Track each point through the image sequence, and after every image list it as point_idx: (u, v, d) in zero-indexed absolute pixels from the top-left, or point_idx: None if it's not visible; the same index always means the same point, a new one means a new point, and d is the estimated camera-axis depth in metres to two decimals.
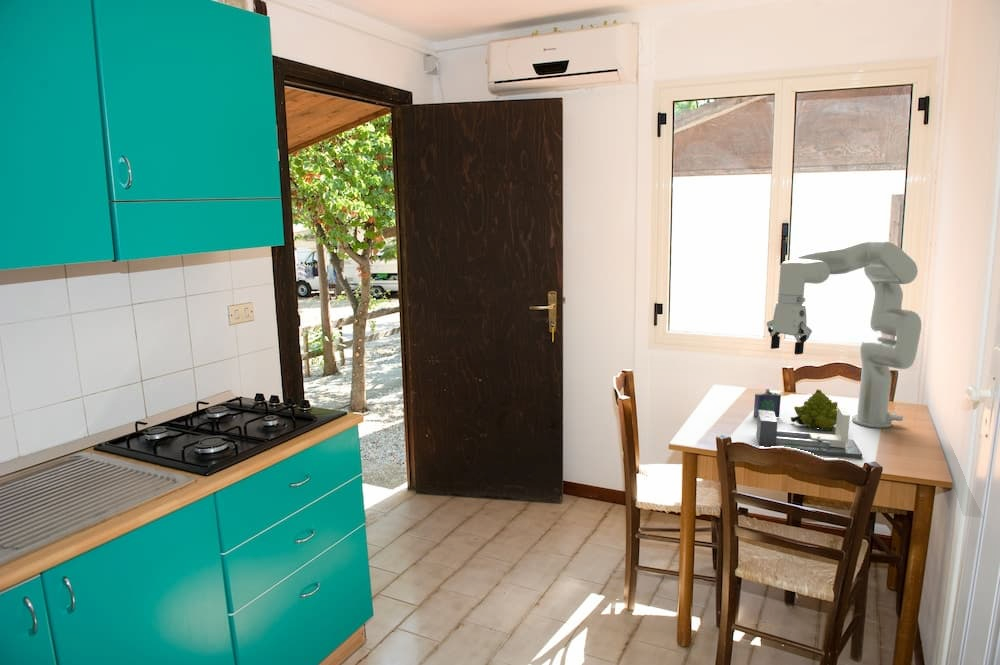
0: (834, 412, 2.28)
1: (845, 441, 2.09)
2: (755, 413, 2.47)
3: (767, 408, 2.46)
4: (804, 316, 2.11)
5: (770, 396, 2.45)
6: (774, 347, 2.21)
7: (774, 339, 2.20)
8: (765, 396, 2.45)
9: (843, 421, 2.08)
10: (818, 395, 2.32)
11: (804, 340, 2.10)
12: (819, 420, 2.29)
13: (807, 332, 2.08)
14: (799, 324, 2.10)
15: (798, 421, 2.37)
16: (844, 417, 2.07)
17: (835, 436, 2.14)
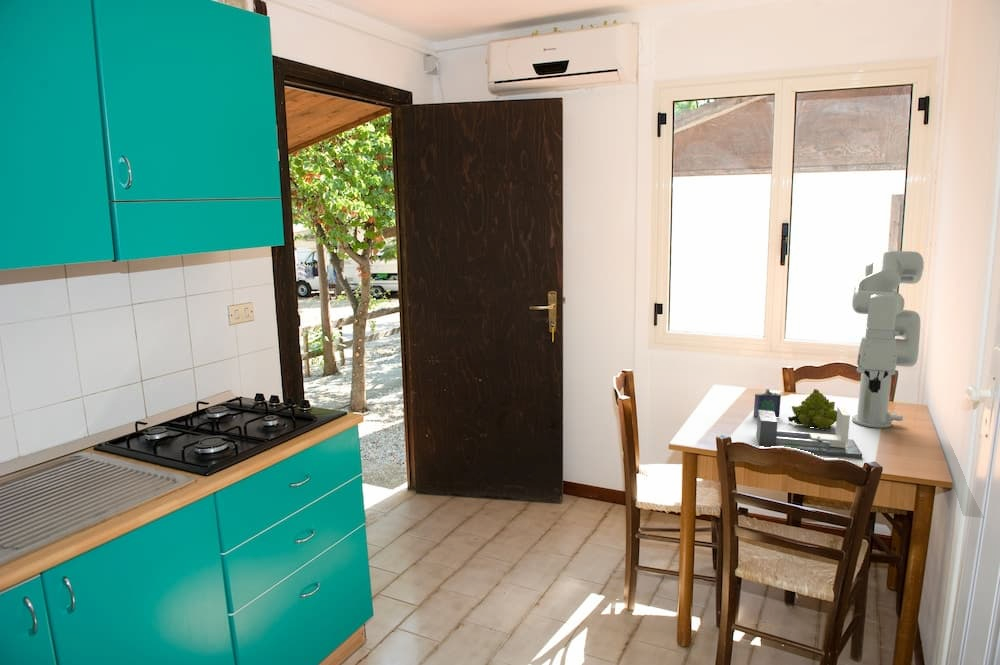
0: (831, 412, 2.29)
1: (845, 441, 2.09)
2: (755, 413, 2.47)
3: (767, 408, 2.46)
4: None
5: (770, 396, 2.45)
6: None
7: None
8: (765, 396, 2.45)
9: (843, 421, 2.08)
10: (815, 395, 2.33)
11: None
12: (817, 420, 2.29)
13: (892, 373, 2.05)
14: (896, 359, 2.03)
15: (796, 421, 2.37)
16: (844, 417, 2.07)
17: (835, 436, 2.14)
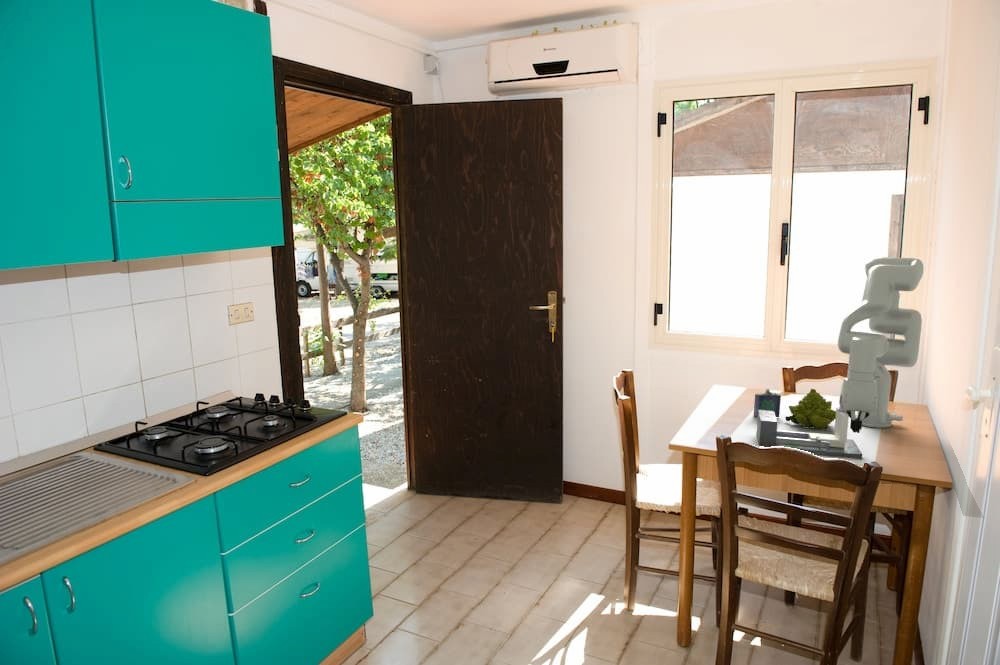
0: (829, 411, 2.29)
1: (844, 441, 2.09)
2: (755, 413, 2.47)
3: (767, 408, 2.46)
4: None
5: (770, 396, 2.45)
6: None
7: None
8: (765, 396, 2.45)
9: (842, 421, 2.08)
10: (813, 394, 2.33)
11: None
12: (814, 419, 2.30)
13: (873, 414, 2.08)
14: (877, 400, 2.07)
15: (793, 420, 2.38)
16: (843, 417, 2.08)
17: (834, 436, 2.15)
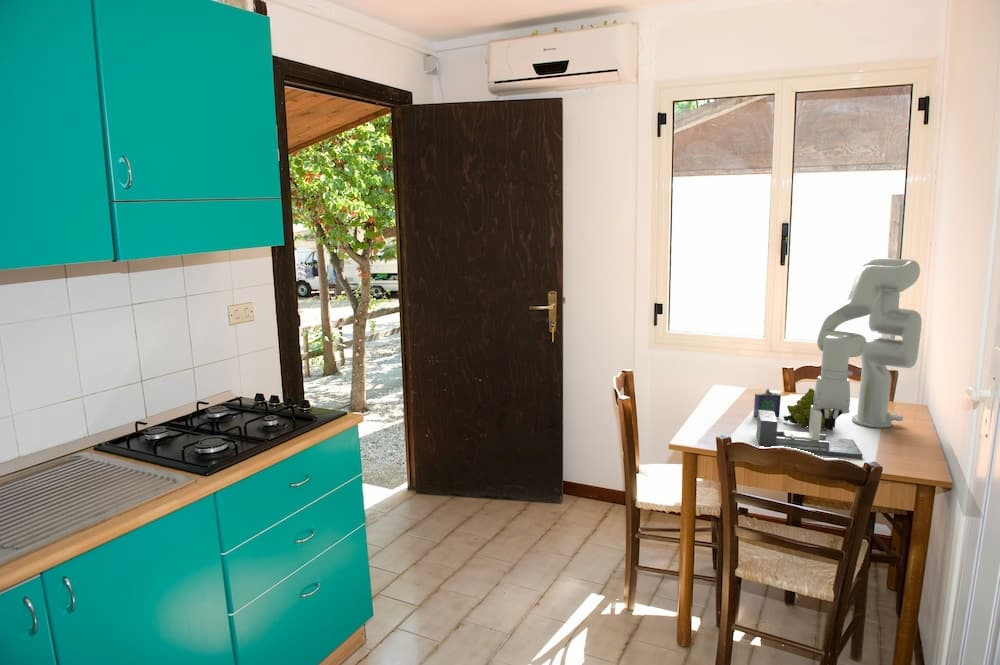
0: None
1: (817, 439, 2.11)
2: (755, 413, 2.47)
3: (767, 408, 2.46)
4: None
5: (770, 396, 2.45)
6: None
7: (830, 420, 2.12)
8: (765, 396, 2.45)
9: (815, 419, 2.10)
10: (811, 394, 2.34)
11: None
12: None
13: (846, 412, 2.11)
14: None
15: (791, 420, 2.38)
16: (816, 415, 2.10)
17: (808, 434, 2.17)
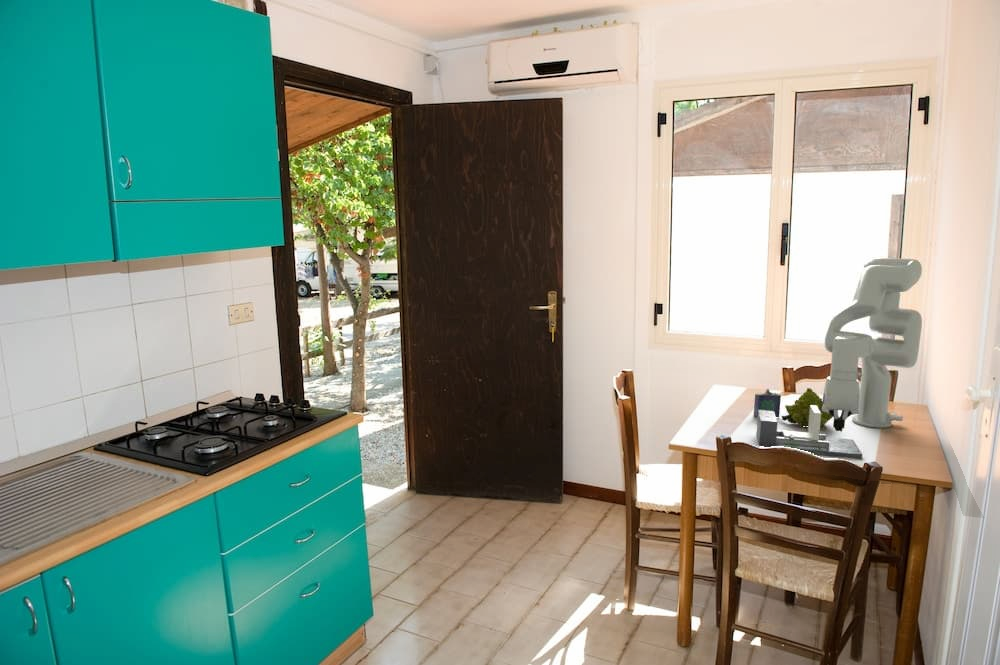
0: None
1: (816, 439, 2.11)
2: (755, 413, 2.47)
3: (767, 408, 2.46)
4: None
5: (770, 396, 2.45)
6: None
7: None
8: (765, 396, 2.45)
9: (814, 419, 2.10)
10: (809, 394, 2.34)
11: None
12: None
13: (856, 412, 2.10)
14: (859, 399, 2.09)
15: (789, 420, 2.39)
16: (815, 415, 2.10)
17: (807, 434, 2.17)
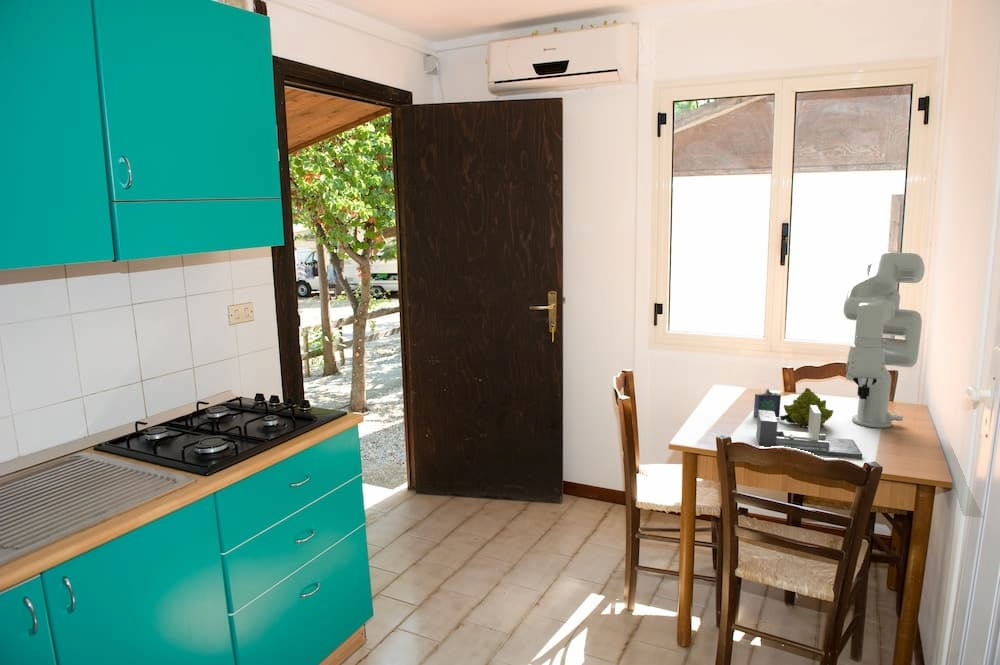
0: (823, 410, 2.31)
1: (816, 439, 2.11)
2: (755, 413, 2.47)
3: (767, 408, 2.46)
4: None
5: (770, 396, 2.45)
6: None
7: None
8: (765, 396, 2.45)
9: (814, 419, 2.10)
10: (807, 393, 2.34)
11: None
12: None
13: (881, 380, 2.07)
14: (884, 366, 2.05)
15: (788, 419, 2.39)
16: (815, 415, 2.10)
17: (807, 434, 2.17)
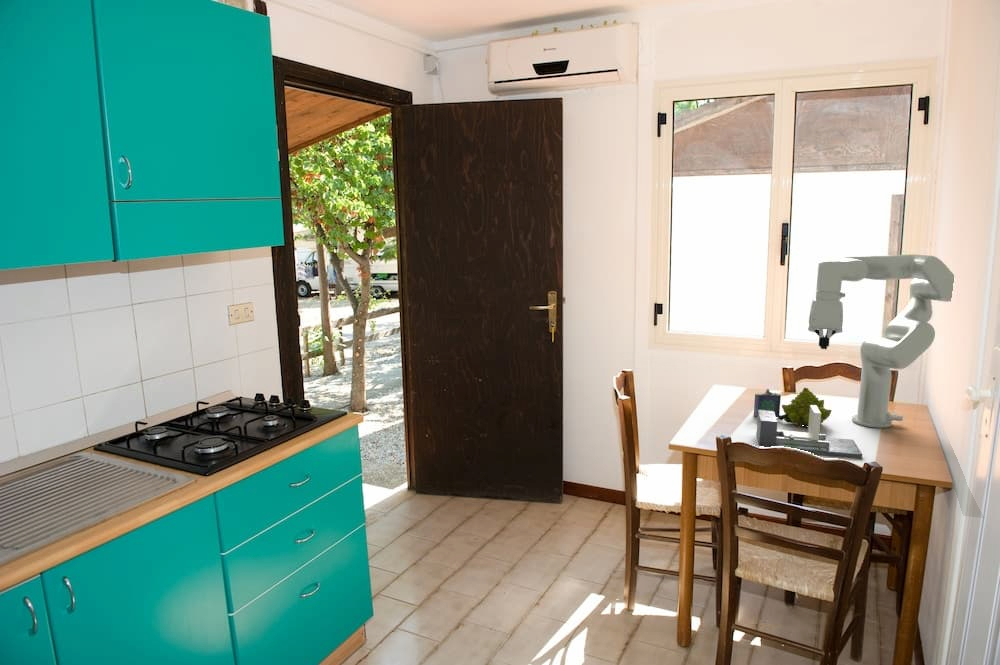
0: (821, 410, 2.31)
1: (816, 439, 2.11)
2: (755, 413, 2.47)
3: (767, 408, 2.46)
4: None
5: (770, 396, 2.45)
6: None
7: None
8: (765, 396, 2.45)
9: (814, 419, 2.10)
10: (805, 393, 2.35)
11: None
12: (807, 418, 2.31)
13: (839, 331, 2.26)
14: (842, 318, 2.25)
15: (786, 419, 2.39)
16: (815, 415, 2.10)
17: (807, 434, 2.17)
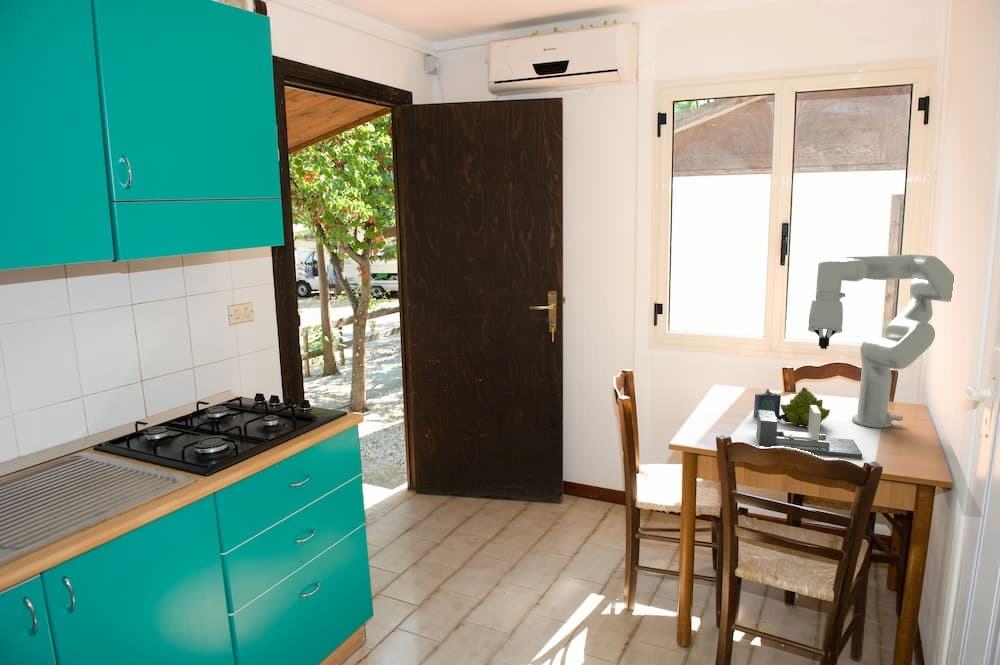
0: (820, 410, 2.31)
1: (816, 439, 2.11)
2: (755, 413, 2.47)
3: (767, 408, 2.46)
4: None
5: (770, 396, 2.45)
6: None
7: None
8: (765, 396, 2.45)
9: (814, 419, 2.10)
10: (804, 393, 2.35)
11: None
12: (805, 418, 2.32)
13: (839, 331, 2.26)
14: (842, 318, 2.25)
15: (784, 419, 2.39)
16: (815, 415, 2.10)
17: (807, 434, 2.17)
